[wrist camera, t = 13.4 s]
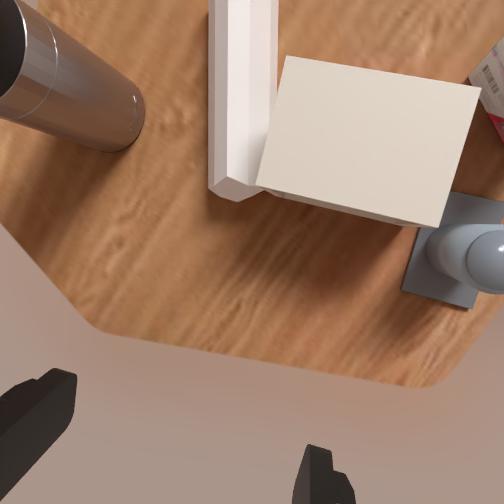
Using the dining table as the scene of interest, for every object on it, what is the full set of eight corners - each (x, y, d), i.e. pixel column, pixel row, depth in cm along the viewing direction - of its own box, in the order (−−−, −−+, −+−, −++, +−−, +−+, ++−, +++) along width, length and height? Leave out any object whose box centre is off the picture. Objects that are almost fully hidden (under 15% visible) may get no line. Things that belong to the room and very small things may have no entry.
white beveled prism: (184, -37, 36) (184, 201, 38) (234, -75, 32) (232, 199, 34) (235, -2, 42) (233, 204, 44) (284, -30, 37) (280, 203, 39)
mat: (400, 289, 38) (401, 290, 38) (431, 187, 37) (433, 187, 36) (470, 308, 37) (472, 309, 36) (504, 203, 36) (507, 203, 35)
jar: (418, 266, 37) (452, 283, 27) (434, 217, 36) (476, 216, 26) (470, 281, 36) (527, 305, 26) (489, 231, 35) (554, 236, 25)
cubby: (275, 196, 40) (255, 184, 29) (298, 105, 39) (286, 55, 27) (403, 226, 38) (438, 227, 26) (432, 130, 36) (481, 87, 25)
